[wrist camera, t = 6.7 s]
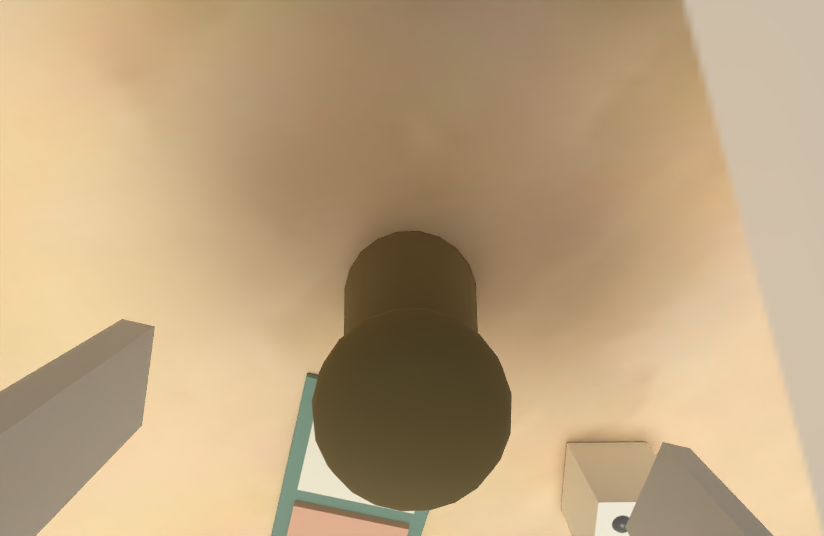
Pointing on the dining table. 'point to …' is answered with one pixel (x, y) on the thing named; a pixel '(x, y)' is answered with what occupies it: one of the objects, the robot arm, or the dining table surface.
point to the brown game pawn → (411, 380)
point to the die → (603, 485)
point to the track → (329, 493)
